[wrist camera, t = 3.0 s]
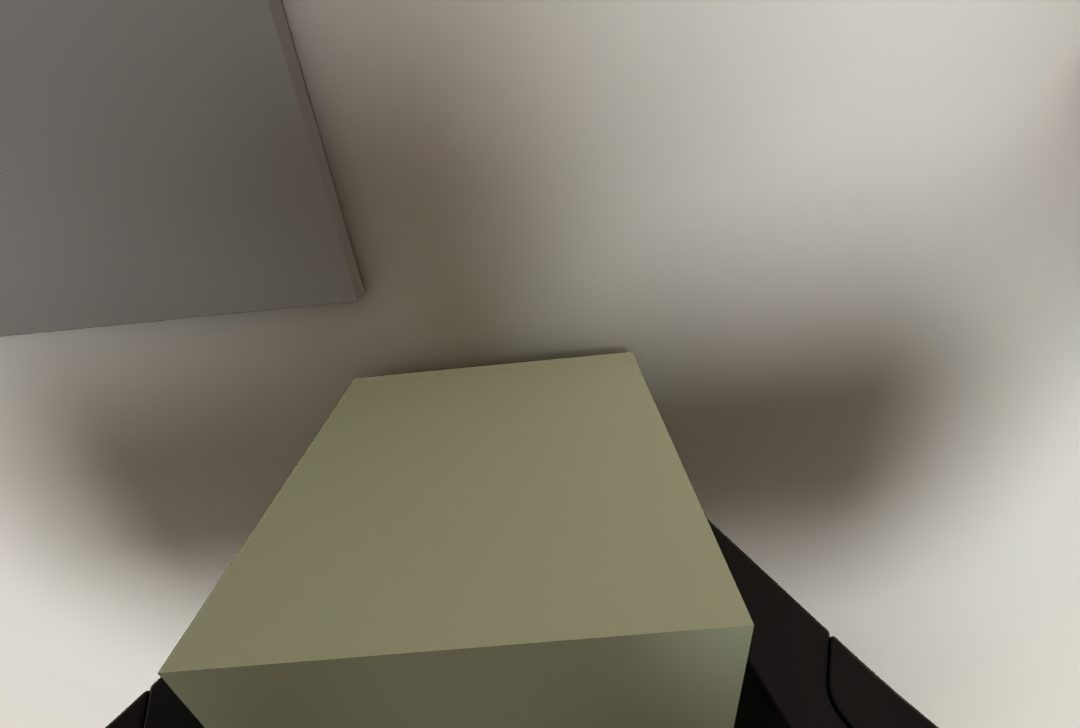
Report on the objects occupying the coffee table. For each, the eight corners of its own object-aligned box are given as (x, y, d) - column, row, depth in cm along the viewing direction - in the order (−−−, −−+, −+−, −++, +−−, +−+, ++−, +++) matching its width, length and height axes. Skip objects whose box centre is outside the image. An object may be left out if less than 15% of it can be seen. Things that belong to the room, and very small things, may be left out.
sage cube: (632, 546, 11) (707, 854, 6) (415, 564, 11) (336, 881, 6) (631, 351, 8) (754, 624, 4) (354, 378, 8) (157, 672, 4)
